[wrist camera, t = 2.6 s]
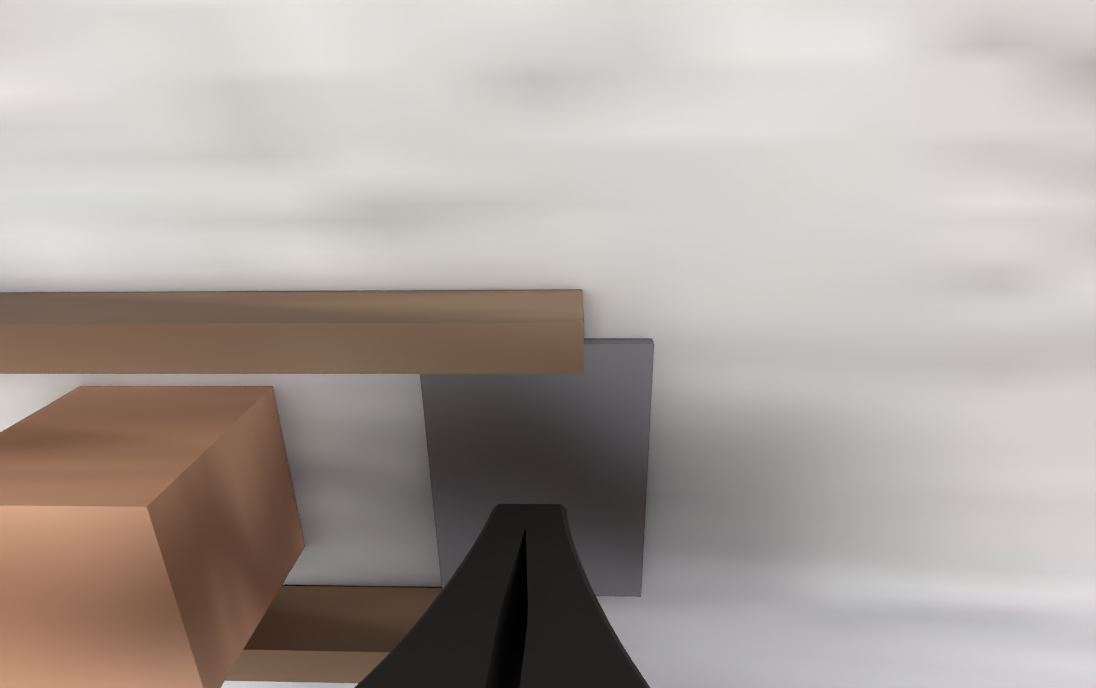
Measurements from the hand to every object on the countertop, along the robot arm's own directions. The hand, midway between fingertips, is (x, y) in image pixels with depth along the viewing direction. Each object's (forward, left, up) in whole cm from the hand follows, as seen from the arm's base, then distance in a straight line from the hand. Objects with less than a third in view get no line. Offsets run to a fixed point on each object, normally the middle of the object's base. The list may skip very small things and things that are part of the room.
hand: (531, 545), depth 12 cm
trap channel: (0, +6, -3) cm, 7 cm away
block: (0, +8, -3) cm, 9 cm away
